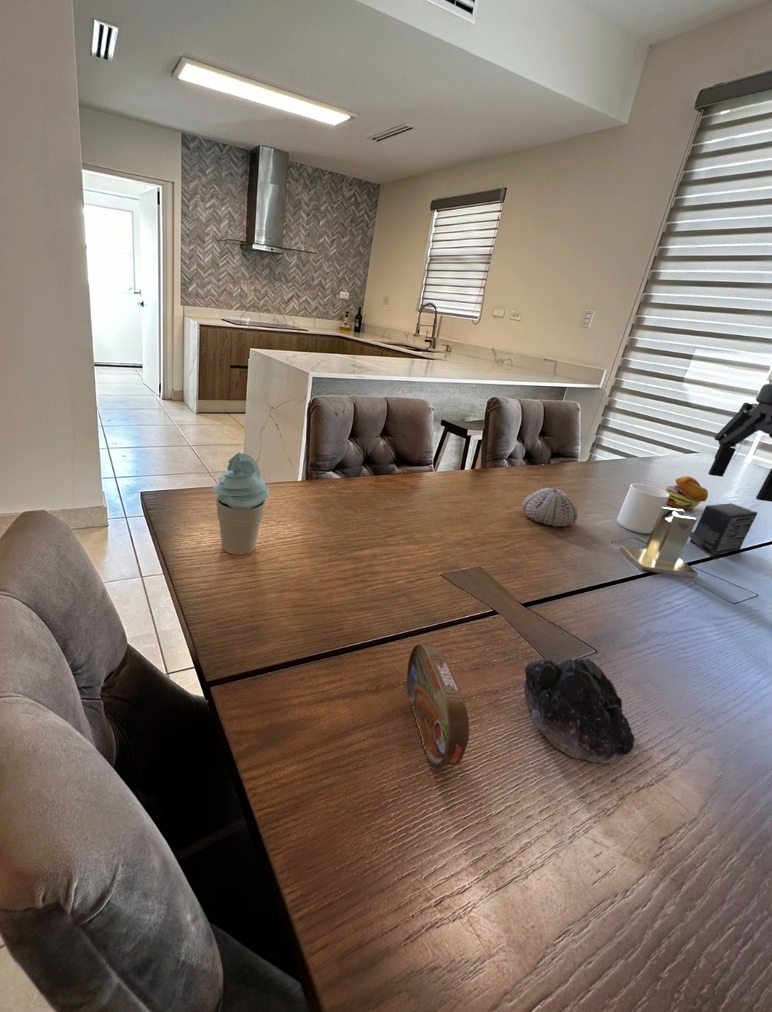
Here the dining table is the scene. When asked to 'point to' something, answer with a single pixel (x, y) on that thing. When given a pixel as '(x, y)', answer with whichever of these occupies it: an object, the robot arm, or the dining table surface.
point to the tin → (437, 705)
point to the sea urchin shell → (550, 507)
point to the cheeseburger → (686, 493)
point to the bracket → (665, 546)
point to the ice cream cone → (240, 504)
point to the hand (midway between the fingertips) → (738, 487)
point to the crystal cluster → (578, 709)
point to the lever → (697, 540)
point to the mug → (642, 508)
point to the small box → (724, 526)
